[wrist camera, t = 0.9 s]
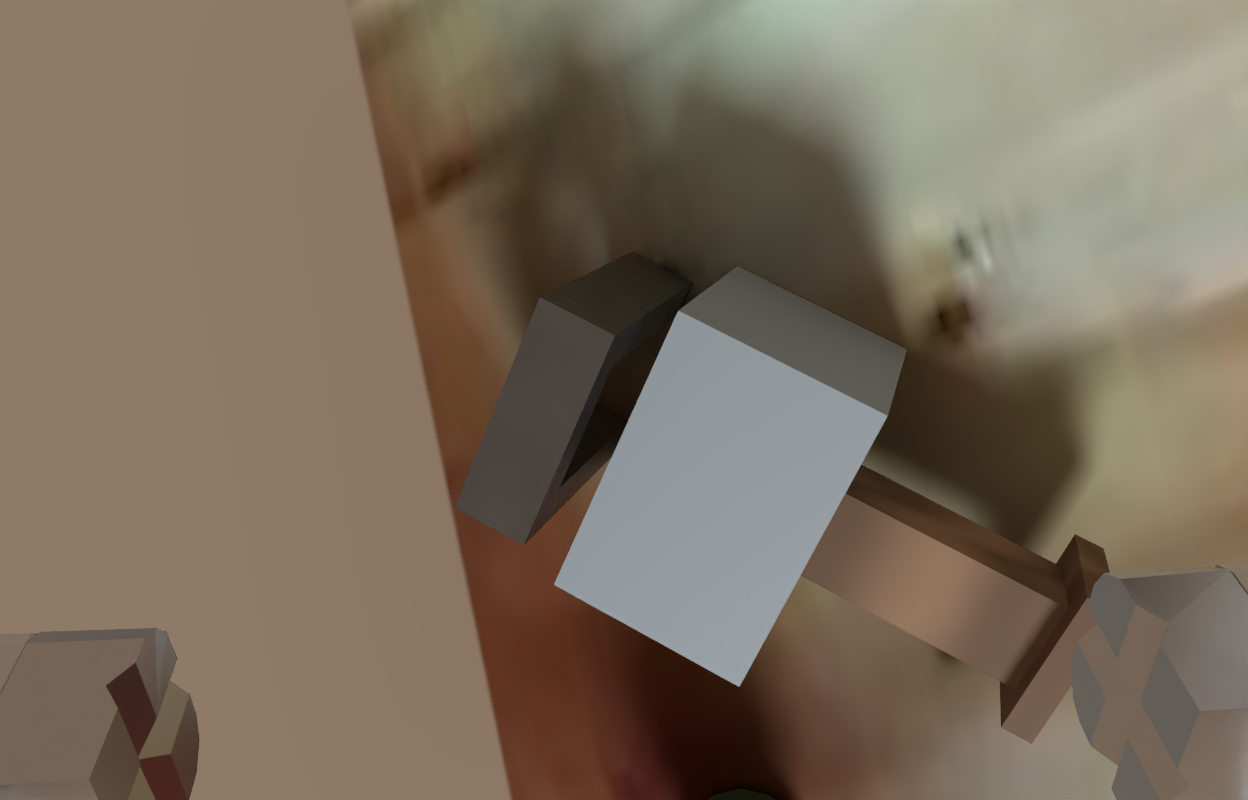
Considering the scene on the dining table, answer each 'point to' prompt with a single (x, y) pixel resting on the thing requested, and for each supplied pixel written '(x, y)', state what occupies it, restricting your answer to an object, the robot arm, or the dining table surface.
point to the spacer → (565, 394)
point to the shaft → (963, 591)
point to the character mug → (741, 795)
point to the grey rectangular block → (731, 469)
